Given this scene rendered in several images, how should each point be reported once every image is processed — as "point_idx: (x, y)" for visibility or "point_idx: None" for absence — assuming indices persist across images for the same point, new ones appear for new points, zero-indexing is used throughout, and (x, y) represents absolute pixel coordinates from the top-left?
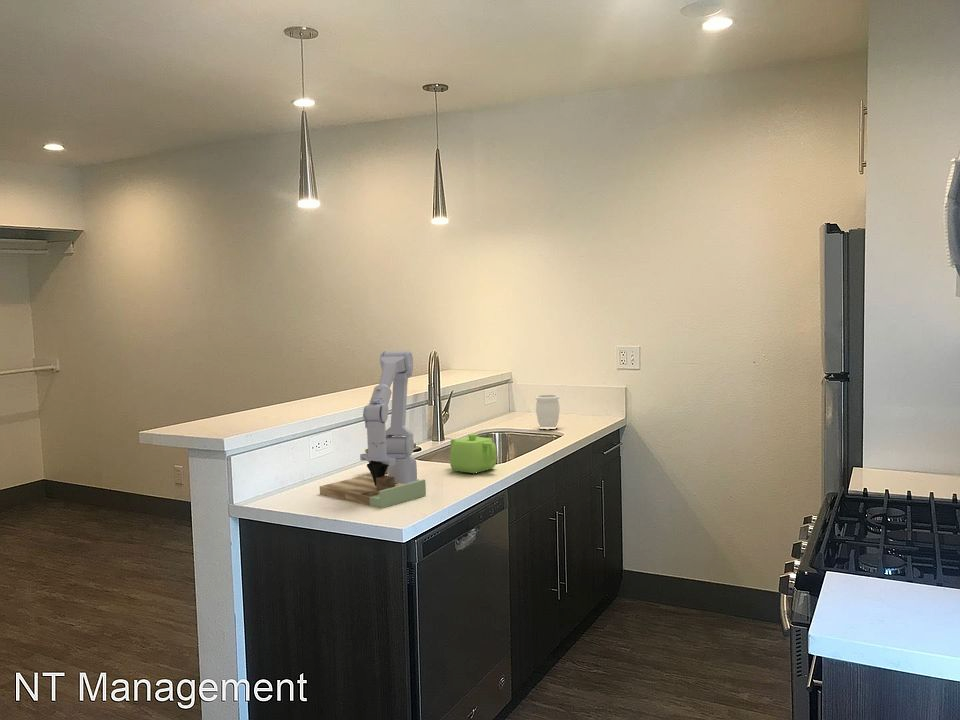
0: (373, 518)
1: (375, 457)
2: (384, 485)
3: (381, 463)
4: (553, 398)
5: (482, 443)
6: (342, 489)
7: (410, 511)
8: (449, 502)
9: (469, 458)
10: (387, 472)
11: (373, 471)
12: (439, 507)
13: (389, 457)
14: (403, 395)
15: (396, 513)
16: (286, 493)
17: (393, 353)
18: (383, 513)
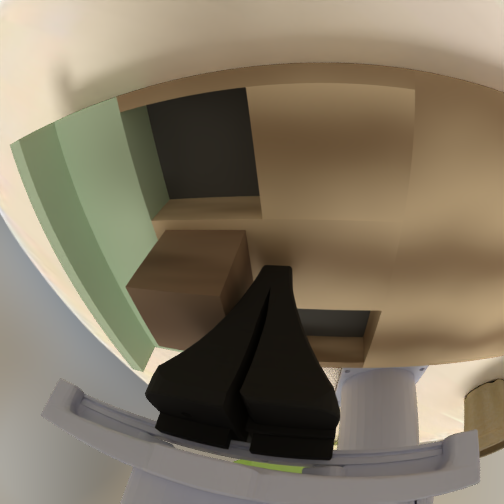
0: (4, 39)
1: (138, 477)
2: (150, 256)
3: (160, 421)
4: None
5: None
6: (485, 124)
7: (14, 173)
8: (63, 293)
9: (260, 465)
10: (464, 401)
11: (248, 346)
12: (30, 249)
13: (116, 459)
14: None
15: (10, 126)
16: None
17: None
18: (23, 88)
